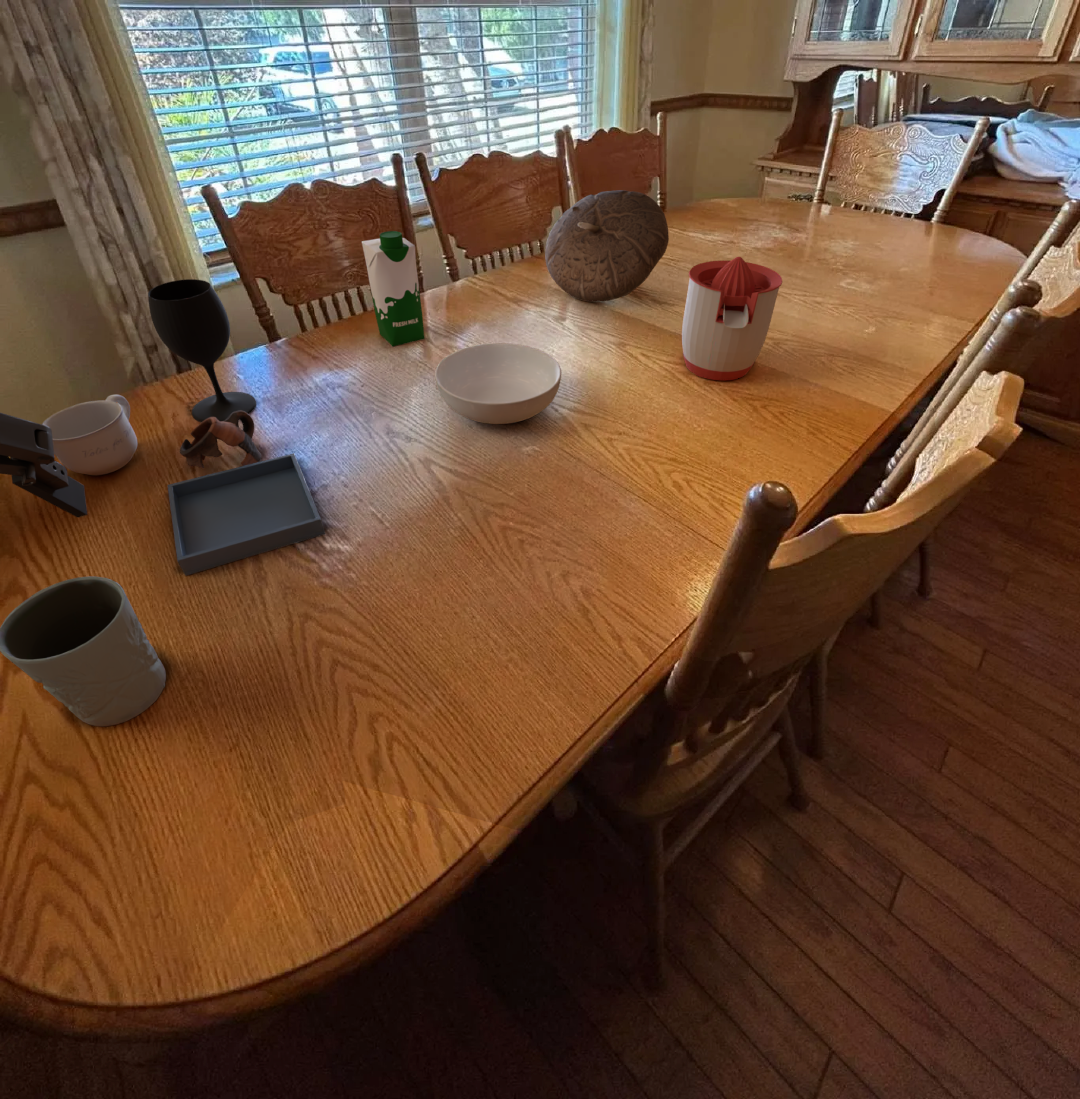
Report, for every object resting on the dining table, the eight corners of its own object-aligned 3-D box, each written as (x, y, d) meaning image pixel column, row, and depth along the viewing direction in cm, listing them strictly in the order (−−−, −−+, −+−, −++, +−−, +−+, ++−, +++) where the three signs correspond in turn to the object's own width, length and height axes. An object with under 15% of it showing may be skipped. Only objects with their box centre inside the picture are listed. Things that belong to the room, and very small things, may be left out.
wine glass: (269, 400, 109) (232, 283, 96) (225, 430, 102) (177, 307, 89) (224, 388, 113) (181, 273, 99) (178, 416, 106) (125, 296, 92)
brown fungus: (520, 302, 144) (520, 181, 138) (576, 310, 162) (578, 204, 155) (628, 294, 128) (634, 157, 122) (677, 304, 146) (684, 185, 139)
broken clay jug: (248, 488, 92) (199, 450, 86) (211, 498, 97) (163, 463, 91) (283, 428, 98) (240, 389, 92) (247, 440, 103) (204, 404, 97)
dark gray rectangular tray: (174, 499, 89) (167, 484, 87) (298, 467, 95) (294, 452, 93) (185, 576, 78) (177, 560, 76) (325, 534, 83) (320, 519, 82)
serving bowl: (419, 429, 103) (413, 391, 98) (464, 372, 117) (461, 336, 113) (542, 449, 98) (542, 410, 94) (573, 386, 113) (574, 350, 109)
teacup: (105, 491, 90) (78, 443, 85) (47, 476, 93) (17, 429, 87) (175, 440, 100) (155, 395, 95) (122, 428, 103) (98, 383, 97)
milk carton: (390, 349, 124) (372, 241, 111) (373, 333, 130) (354, 228, 117) (430, 339, 128) (418, 233, 114) (413, 324, 133) (399, 221, 120)
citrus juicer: (676, 389, 113) (695, 274, 99) (672, 347, 125) (689, 240, 112) (765, 395, 111) (797, 279, 98) (753, 351, 124) (779, 243, 110)
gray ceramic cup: (177, 643, 70) (129, 565, 62) (172, 717, 63) (118, 641, 55) (73, 669, 67) (10, 591, 59) (56, 750, 60) (-18, 674, 52)
